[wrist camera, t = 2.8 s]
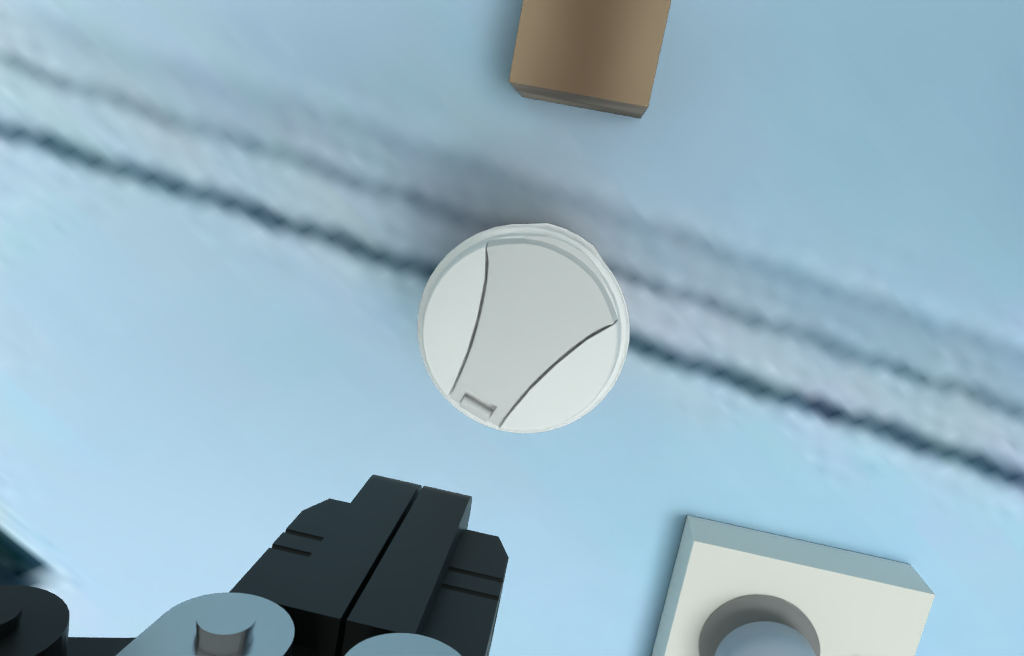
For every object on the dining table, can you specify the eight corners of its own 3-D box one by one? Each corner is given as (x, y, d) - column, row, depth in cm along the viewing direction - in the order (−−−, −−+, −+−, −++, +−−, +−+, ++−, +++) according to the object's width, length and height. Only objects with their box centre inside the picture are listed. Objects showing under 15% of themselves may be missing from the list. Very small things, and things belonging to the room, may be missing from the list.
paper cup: (570, 381, 40) (556, 484, 27) (447, 307, 40) (370, 373, 27) (649, 256, 39) (677, 298, 25) (521, 179, 39) (479, 179, 25)
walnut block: (667, -9, 36) (680, -46, 30) (640, 118, 37) (648, 107, 32) (545, -30, 37) (535, -69, 31) (522, 96, 38) (508, 81, 32)
